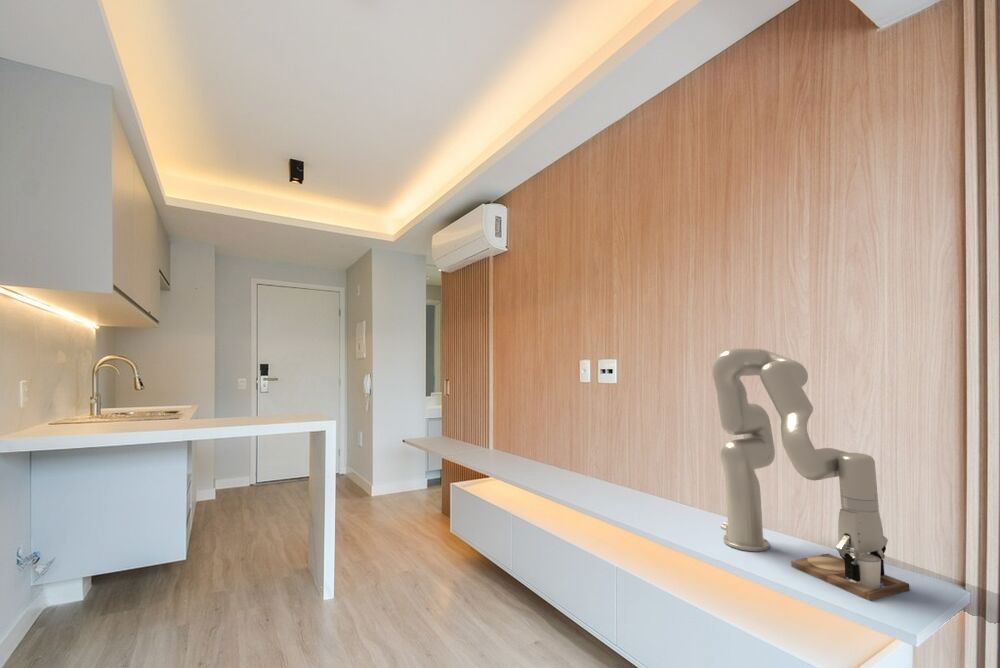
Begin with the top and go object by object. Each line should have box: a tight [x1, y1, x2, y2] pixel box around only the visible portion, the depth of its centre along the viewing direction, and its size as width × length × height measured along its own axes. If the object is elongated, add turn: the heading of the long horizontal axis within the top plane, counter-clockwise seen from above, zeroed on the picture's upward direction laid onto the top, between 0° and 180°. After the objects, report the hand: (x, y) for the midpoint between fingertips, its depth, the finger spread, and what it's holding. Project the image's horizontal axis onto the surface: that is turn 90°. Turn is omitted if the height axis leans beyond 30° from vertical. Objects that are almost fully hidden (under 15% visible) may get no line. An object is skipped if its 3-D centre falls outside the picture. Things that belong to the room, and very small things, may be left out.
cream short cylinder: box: [849, 553, 881, 590], centre depth 116 cm, size 7×7×7 cm
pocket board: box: [790, 553, 911, 601], centre depth 121 cm, size 20×14×2 cm
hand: (865, 576), depth 116 cm, fingers open, 7 cm apart
